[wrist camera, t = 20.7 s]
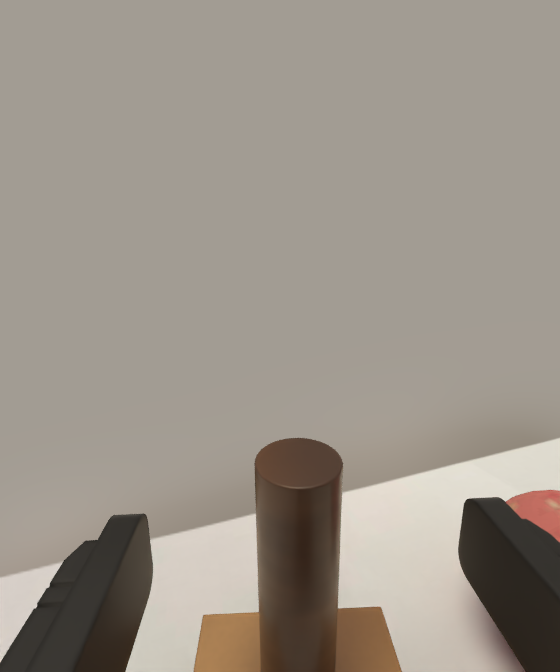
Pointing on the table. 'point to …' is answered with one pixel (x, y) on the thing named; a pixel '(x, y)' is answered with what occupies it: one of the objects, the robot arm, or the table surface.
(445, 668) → the table surface
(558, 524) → the apple
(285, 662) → the wooden handled stamp
